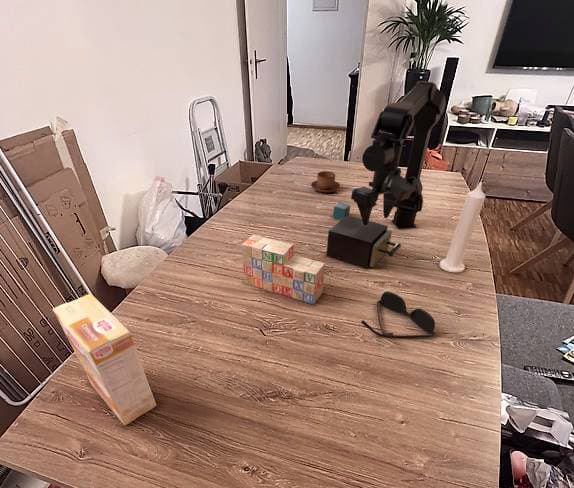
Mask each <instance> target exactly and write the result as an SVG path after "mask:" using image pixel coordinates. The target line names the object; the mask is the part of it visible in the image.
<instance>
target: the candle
mask: <svg viewBox="0 0 574 488" xmlns="http://www.w3.org/2000/svg"><path fill="white" fill-rule="evenodd" d="M482 185H483V182H482V181H480V182H479V183H478V184H477V186H476V188H475V189H473V190H470V191H469V192H468V193H467V194H466V197H465V199H464V203H463V205H462V209H461V213H460V215H459V218H458V221H457V224H456V227H455V230H454V233H453V236H452V239H451V242H450V245H449V247H448V251H447V253H446V254H447V255H446V257H445V258H443V259H441V260H440V261H439V267H440V268H441V269H442V270H443V271H445V272H449V273H453V274H455V273H456V274H457V273H461V272H464V270H465V268H466V267H465V264H464V263H463V260H464V258H465V254H466V251H467V249H468V247H469V244H470V240H471V238H472V236H473V233H474V230H475V228H476V224H477V221H478V219H479V216H480V214H481V210H482V208H483V205H484V202H485V200H486V194H485V193H484V192H483V190H482V189H483V187H482Z"/></svg>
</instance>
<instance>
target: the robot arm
mask: <svg viewBox="0 0 574 488" xmlns="http://www.w3.org/2000/svg"><path fill="white" fill-rule="evenodd" d="M446 102H447V101H446V95H445V93H444V92H442V91H441V90H440V89H439V88H438V86H437V83H435V82H434V81H425V80H419V81H416V82H415V84H414V86H413V88H412V89H411V90H410V91H409V92H408V93H407V94H406V95H405V96H404V97H403V98H402V99H401V100H400V101H397V102H391V103H389V104H387V105H385V107H383V109H382V110H381V111H380V112H379V115H378V118H377V120H376V122H375V126H374V128H373V130H372V132H371V135H370V139H372V145H369V146H368V147H366V148H365V150H364V151H363V154H362V156H361V157H362V164H363V167H364V168H365V169H366V170H367V171H369V172H373V176H372V177H373V178H372V180H371V181H369V182H368V187H366V186H365V185H363V186H359V187H356V188H354V189H353V190H352V191H351V197H350V200H351V201H353V203H356V206H357V207H358V211H359V213H360V217H361V218H360V219H362V221H363V224H364V225H367V224H368V222H369V221H370V217H371V214H372V210H373V208H374V207H376V206H378V203H377V202H378V200H379V196H381V195H383V199H382V200H383V201H382V203H383V205H382V207H383V218H385V219H388V217H389V216H390V214H391V213H392V210H393V209H394V208H396V210H395V211H394V214H393V219H392V220H391V223H392V224H393V225H394V226H395V227H396V228H397V229H398V230H404V229H414V228H417V225H416V224H415V222H416V218H417V213H418V212H419V213H420V212H422V209H423V205H424V196H423V194H422V193H423V189H424V188H423V187H424V186H423V184H422V181H421V176H422V170H423V166H424V162H425V158H426V154H427V151H428V146H429V142H430V137H431V133H432V129H433V128H434V127H435V125H437V123H438V122H439V121H440V119H441V116H442V115H443V113H444V111H445V108H446V104H447V103H446ZM413 127H414V134H413V138H412V142H411V143H412V144H411V147H410V152H409V157H408V162H407V167H406V171H405V176H404V177H403V176H402V169H401V168H400V167H399V163H400V159H401V153H402V150H403V145H404V142H405V140H407V139H408V137H409V134H410V133H411V131H412V128H413ZM369 187H371V188H369Z"/></svg>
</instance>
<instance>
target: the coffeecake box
mask: <svg viewBox="0 0 574 488" xmlns="http://www.w3.org/2000/svg"><path fill="white" fill-rule="evenodd" d="M52 312H53V313H54V315H55V317H56V319H57V321H58V322H59V324H60V326H61V329H62V330H63V332H64V334H65V336H66V338H67V340H68V342H69V343H70V345H71V347H72V349H73V351H74V353H75V355H76V357H77V359H78V361H79V363H80V365H81V367H82V369H83V370H84V372H85V374H86V376H87V379H88V380H89V383H90V384H91V386H92V388H93V389H94V390H95V391H96V392H97V393H98V395H99V396H100V398H101V399H102V400H103V401H104V403H106V405H107V406H108V407H109V409H111V411H112V412H113V413H114V415H115V416H116V417H117V418H118V420H119V421H120V422H121V423H122V424H123V426H127V425H128V424H130V423H132V422H133V421H135V420H136V419H137V418H139V417H141V416H142V415H144V414H145V413H147V412H149V411H150V410H152V409H155V408H156V407H157V403H156V400H155V397H154V394H153V392H152V390H151V387H150V385H149V381H148V378H147V376H146V373H145V369H144V367H143V364H142V361H141V359H140V356H139V354H138V350H137V349H136V345H135V343H134V340H133V337H132V335H131V331H129V330H128V329H127V328H126V326H124V325H123V324H122V322H120V320H118V319H117V318H116V317H115V316H114V315H113V314H112V312H110V311H109V309H107V307H106V306H104V305H103V304H102V303H101V302H100V301H99V300H98V299H97V298H96V297H95V296H94V295H93V294H92V293H89V294H86V295H84V296H81V297H79V298H77V299H74V300H72V301H69V302H64V303H63V304H60V305H57V306H56V307H53V308H52Z"/></svg>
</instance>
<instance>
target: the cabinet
mask: <svg viewBox="0 0 574 488" xmlns="http://www.w3.org/2000/svg"><path fill="white" fill-rule="evenodd" d="M388 227H389V226H388V225H386V224H382V223H379V222H374V221H371V220H369V222H368V224H367V225H364V224H363V221H362V218H359V217H356V216H351V215H349V216H348V215H347V216H346V217H345V218H343V219H342V220H339V221H338V222H336V224H334V225H333V226H332V227H331V228H330V229H328V231H327V232H328V234H327V244H326V253H325V254H326V257H328V258H331V259H333V260H334V259H335V260H338V261H340V262H344V263H346V264H350V265H352V266H356V267H359V268H362V269H365V270H367V269H368V268H369V267H371V266H370V261H371V259H370V260H369V258H370V252H371V246H372V243H373V242H374V241H375V240H376V239H377V238H378V237H379V236H380V235H381V234H382V233H383V234H382V236H383V235H384V234H385V233H386V232H387V231H388Z"/></svg>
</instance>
